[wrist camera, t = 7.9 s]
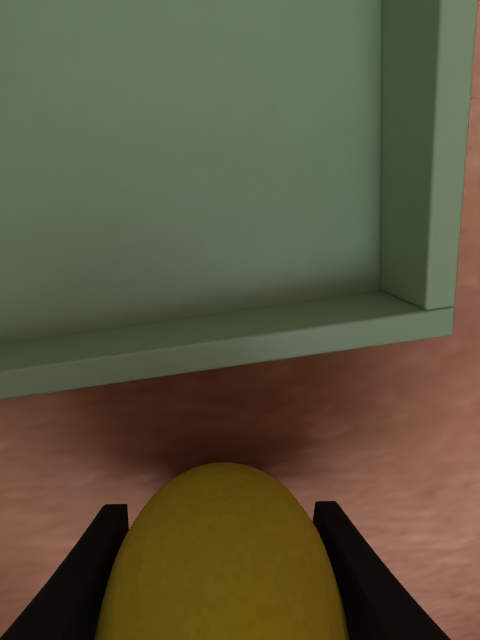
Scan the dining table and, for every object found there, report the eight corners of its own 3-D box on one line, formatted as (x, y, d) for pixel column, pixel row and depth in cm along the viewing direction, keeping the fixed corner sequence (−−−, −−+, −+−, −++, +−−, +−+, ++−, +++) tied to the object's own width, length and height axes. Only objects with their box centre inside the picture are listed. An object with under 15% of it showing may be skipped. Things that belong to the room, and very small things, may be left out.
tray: (395, 306, 10) (454, 335, 8) (-179, 387, 10) (-317, 446, 7) (406, -231, 7) (520, -501, 4) (-488, -141, 6) (-959, -380, 4)
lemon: (273, 388, 11) (413, 816, 3) (313, 511, 12) (469, 986, 5) (115, 439, 11) (-129, 964, 3) (176, 553, 13) (111, 1078, 5)
